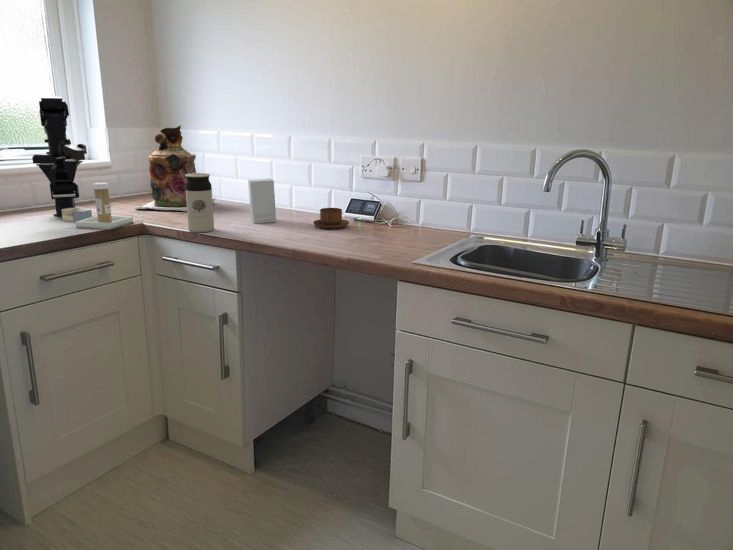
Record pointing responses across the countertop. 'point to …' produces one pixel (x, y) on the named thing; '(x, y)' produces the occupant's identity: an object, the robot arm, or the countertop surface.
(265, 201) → the skincare box
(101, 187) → the sprinkles bottle
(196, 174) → the travel mug
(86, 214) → the slate block
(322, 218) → the cup and saucer
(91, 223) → the sage tray
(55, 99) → the robot arm
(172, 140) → the cookie jar
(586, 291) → the countertop surface
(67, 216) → the birch block
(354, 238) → the countertop surface
